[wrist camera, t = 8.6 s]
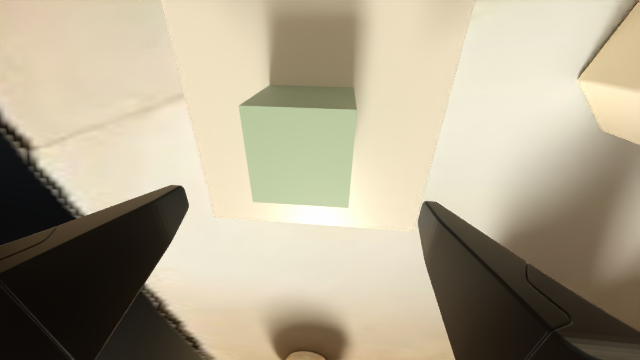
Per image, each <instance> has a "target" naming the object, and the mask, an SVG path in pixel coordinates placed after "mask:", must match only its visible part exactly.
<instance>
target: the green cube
mask: <svg viewBox="0 0 640 360" xmlns="http://www.w3.org/2000/svg"><path fill="white" fill-rule="evenodd" d="M239 112H240V118H241V125H242V132H243V139H244V145H245V152H246V159H247V166H248V172H249V179H250V186H251V192H252V199H253V202H260V203H276V204H292V205H308V206H323V207H339V208H349V197H350V185H351V173H352V162H353V150H354V138H355V127H356V115H357V107H356V100H355V93H354V88H350V87H316V86H281V85H269V86H267V87H266V88H264V89H263V90H261V91H260V92H258V93H257V94H255V95H254V96H252V97H251V98H249V99H248V100H246V101H245V102H243V103H242V104H240V105H239Z"/></svg>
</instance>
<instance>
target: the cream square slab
mask: <svg viewBox="0 0 640 360" xmlns="http://www.w3.org/2000/svg"><path fill="white" fill-rule="evenodd" d="M474 2H475V0H161V3H162V7H163V11H164V15H165V19H166V23H167V27H168V31H169V35H170V40H171V44H172V48H173V52H174V56H175V60H176V64H177V68H178V72H179V76H180V80H181V84H182V88H183V92H184V96H185V100H186V104H187V108H188V112H189V116H190V120H191V125H192V129H193V133H194V137H195V141H196V145H197V149H198V153H199V157H200V161H201V165H202V169H203V173H204V177H205V181H206V185H207V189H208V193H209V197H210V201H211V205H212V210H213V214H214V217H220V218H234V219H248V220H262V221H277V222H291V223H305V224H319V225H333V226H347V227H361V228H376V229H390V230H404V231H414V227H415V224H416V220H417V216H418V212H419V209H420V205H421V201H422V197H423V194H424V190H425V186H426V182H427V179H428V175H429V171H430V167H431V164H432V160H433V156H434V152H435V149H436V145H437V141H438V137H439V134H440V130H441V126H442V122H443V119H444V115H445V111H446V107H447V104H448V100H449V96H450V92H451V89H452V85H453V81H454V77H455V74H456V70H457V66H458V62H459V59H460V55H461V51H462V47H463V44H464V40H465V36H466V32H467V29H468V25H469V21H470V17H471V14H472V10H473V6H474ZM269 85H281V86H316V87H350V88H354V93H355V100H356V107H357V115H356V127H355V138H354V150H353V162H352V173H351V185H350V197H349V208H339V207H323V206H308V205H292V204H276V203H260V202H253V199H252V192H251V186H250V179H249V172H248V166H247V159H246V152H245V145H244V139H243V132H242V125H241V118H240V112H239V105H240V104H242V103H243V102H245V101H246V100H248V99H249V98H251V97H252V96H254V95H255V94H257V93H258V92H260V91H261V90H263V89H264V88H266V87H267V86H269Z"/></svg>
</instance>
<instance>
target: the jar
mask: <svg viewBox="0 0 640 360" xmlns="http://www.w3.org/2000/svg"><path fill="white" fill-rule="evenodd" d="M578 83H579V85H580V87H581V89H582V91H583V93H584V95H585V97H586V99H587V101H588V104H589V106H590V108H591V110H592V112H593V114H594V116H595V118H596V120H597V123H598V125H599V127H600V129H601V130H602V131H604V132H606V133H609V134H612V135H614V136H617V137H620V138H622V139H625V140H628V141H630V142H633V143H636V144H638V145H640V0H639V1H638V3H637V4H636V5H635V7H634V8H633V9H632V10H631V12H630V13H629V14H628V16H627V17H626V18H625V19H624V21H623V22H622V23H621V25H620V26H619V27H618V28H617V30H616V31H615V32H614V33H613V35H612V36H611V37H610V39H609V40H608V41H607V42H606V44H605V45H604V46H603V48H602V49H601V50H600V51H599V53H598V54H597V55H596V57H595V58H594V59H593V60H592V62H591V63H590V64H589V65H588V67H587V68H586V69H585V71H584V72H583V73H582V74H581V76H580V77H579V79H578Z"/></svg>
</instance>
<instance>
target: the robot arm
mask: <svg viewBox="0 0 640 360" xmlns="http://www.w3.org/2000/svg"><path fill="white" fill-rule="evenodd" d="M188 208H189V203H188V200H187V196H186V193H185V190H184V188H183V187H182V186H179V185H170V186H167V187H164V188H161V189H159V190H156V191H153V192H150V193H148V194H145V195H142V196H139V197H136V198H134V199H131V200H128V201H125V202H123V203H120V204H117V205H114V206H111V207H109V208H106V209H103V210H100V211H98V212H95V213H92V214H89V215H87V216H84V217H81V218H78V219H75V220H73V221H70V222H67V223H64V224H62V225H59V226H58V227H53V228H51V229H48V230H45V231H42V232H39V233H36V234H33V235H31V236H28V237H25V238H22V239H19V240H16V241H13V242H11V243H8V244H4V245H2V246H0V360H95V359H96V357H97V356H98V354H99V353H100V351H101V350H102V348H103V347H104V345H105V344H106V342H107V341H108V339H109V337H110V336H111V334H112V333H113V331H114V330H115V328H116V327H117V325H118V323H119V322H120V321H121V319H122V317H123V316H124V314H125V313H126V311H127V310H128V308H129V307H130V305H131V304H132V302H133V301H134V299H135V297H136V296H137V294H138V293H139V291H140V290H141V288H142V287H143V285H144V284H145V282H146V281H147V279H148V277H149V276H150V274H151V273H152V271H153V270H154V268H155V267H156V265H157V264H158V262H159V261H160V259H161V257H162V256H163V254H164V253H165V251H166V250H167V248H168V247H169V245H170V243H171V242H172V240H173V238H174V236H175V234H176V232H177V230H178V228H179V226H180V224H181V222H182V220H183V218H184V216H185V214H186V213H187V211H188ZM418 228H419V233H420V238H421V244H422V249H423V255H424V260H425V264H426V268H427V271H428V274H429V277H430V280H431V284H432V287H433V290H434V293H435V296H436V299H437V303H438V306H439V309H440V312H441V315H442V319H443V322H444V325H445V328H446V331H447V334H448V338H449V341H450V344H451V347H452V350H453V354H454V357H455V360H640V332H639V331H638V330H636V329H634V328H633V327H631V326H629V325H628V324H626V323H624V322H623V321H621V320H619V319H618V318H616V317H614V316H613V315H611V314H609V313H608V312H606V311H604V310H602V309H601V308H599V307H597V306H596V305H594V304H592V303H591V302H589V301H587V300H586V299H584V298H582V297H581V296H579V295H577V294H576V293H574V292H573V291H571V290H569V289H568V288H566V287H564V286H563V285H561V284H560V283H558V282H556V281H555V280H553V279H552V278H550V277H549V276H547V275H546V274H544V273H542V272H541V271H539V270H538V269H536V268H535V267H533V266H532V265H531V264H529V263H526V261H524V260H523V259H521V258H520V257H518V256H517V255H515V254H514V253H512V252H511V251H509V250H508V249H506V248H505V247H503V246H502V245H500V244H499V243H497V242H496V241H494V240H493V239H491V238H490V237H488V236H487V235H485V234H484V233H482V232H481V231H479V230H478V229H476V228H475V227H473V226H472V225H470V224H469V223H467V222H466V221H464V220H463V219H461V218H460V217H458V216H457V215H455V214H454V213H452V212H451V211H449V210H448V209H446V208H445V207H443V206H442V205H440V204H439V203H437V202H433V201H425V202H423V204H422V207H421V211H420V215H419V219H418Z"/></svg>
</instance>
